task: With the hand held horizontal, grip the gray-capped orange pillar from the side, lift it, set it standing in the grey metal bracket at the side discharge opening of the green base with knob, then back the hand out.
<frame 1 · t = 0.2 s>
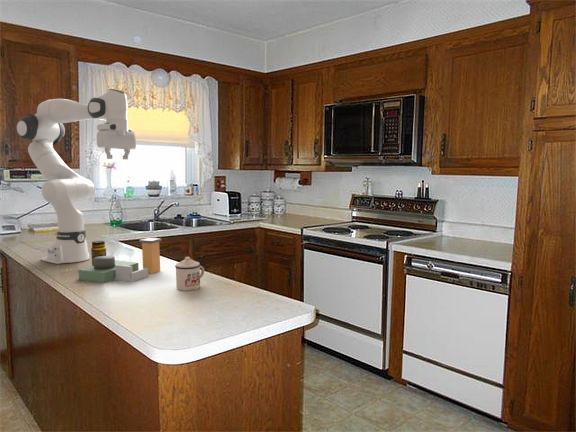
hand: (117, 159, 197), 48 cm above the countertop, tool pointing down, fingers open, 8 cm apart
gray-capped orange pillar: (151, 271, 192), on the countertop
condiment: (97, 268, 198), on the countertop
teacup with lid: (191, 287, 168), on the countertop
green base with knob: (131, 278, 181), on the countertop
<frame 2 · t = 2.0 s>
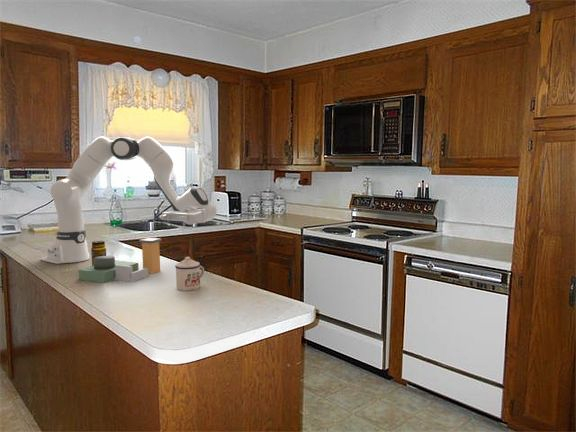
hand: (170, 218, 200), 22 cm above the countertop, tool horizontal, fingers open, 8 cm apart
nothing on the countertop moved.
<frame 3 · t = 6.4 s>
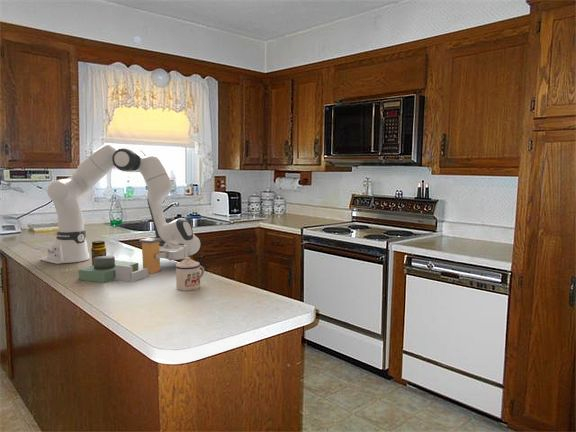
hand: (149, 255, 191), 7 cm above the countertop, tool horizontal, fingers closed on gray-capped orange pillar, 5 cm apart
gray-capped orange pillar: (151, 271, 192), on the countertop, touching gripper
everything else where it was.
when the fingers open (9 cm above the countertop, at t = 11.3 s): gray-capped orange pillar drops 1 cm, resting on green base with knob.
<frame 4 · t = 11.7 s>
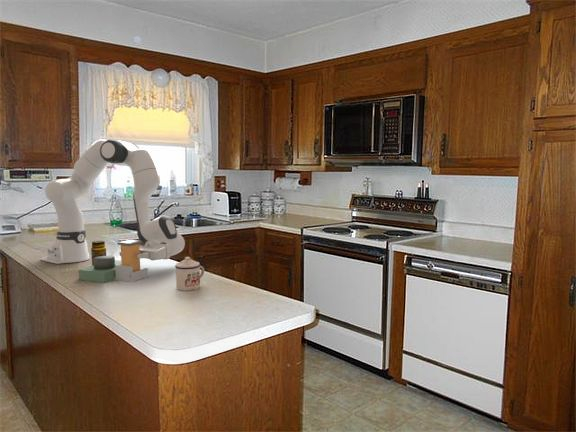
hand: (128, 255, 179), 9 cm above the countertop, tool horizontal, fingers open, 8 cm apart
gray-capped orange pillar: (131, 275, 181), point 1 cm above the countertop, touching green base with knob
everything else where it was.
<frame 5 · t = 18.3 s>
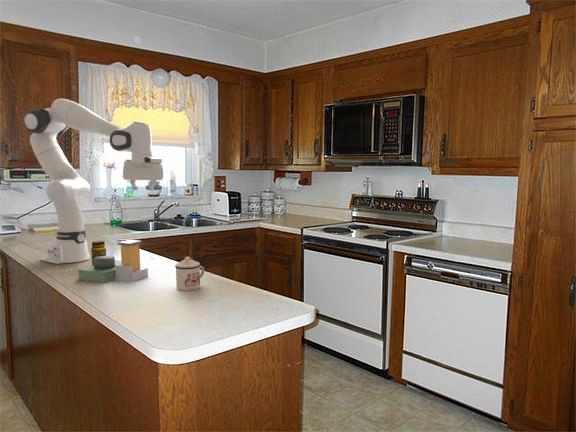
hand: (143, 190, 199), 34 cm above the countertop, tool pointing down, fingers open, 8 cm apart
nothing on the countertop moved.
at the end: gray-capped orange pillar 0.5 cm off-centre on the green base with knob, point 1.0 cm above the green base with knob's base; gray-capped orange pillar tilted 0°; the gripper is holding nothing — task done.
